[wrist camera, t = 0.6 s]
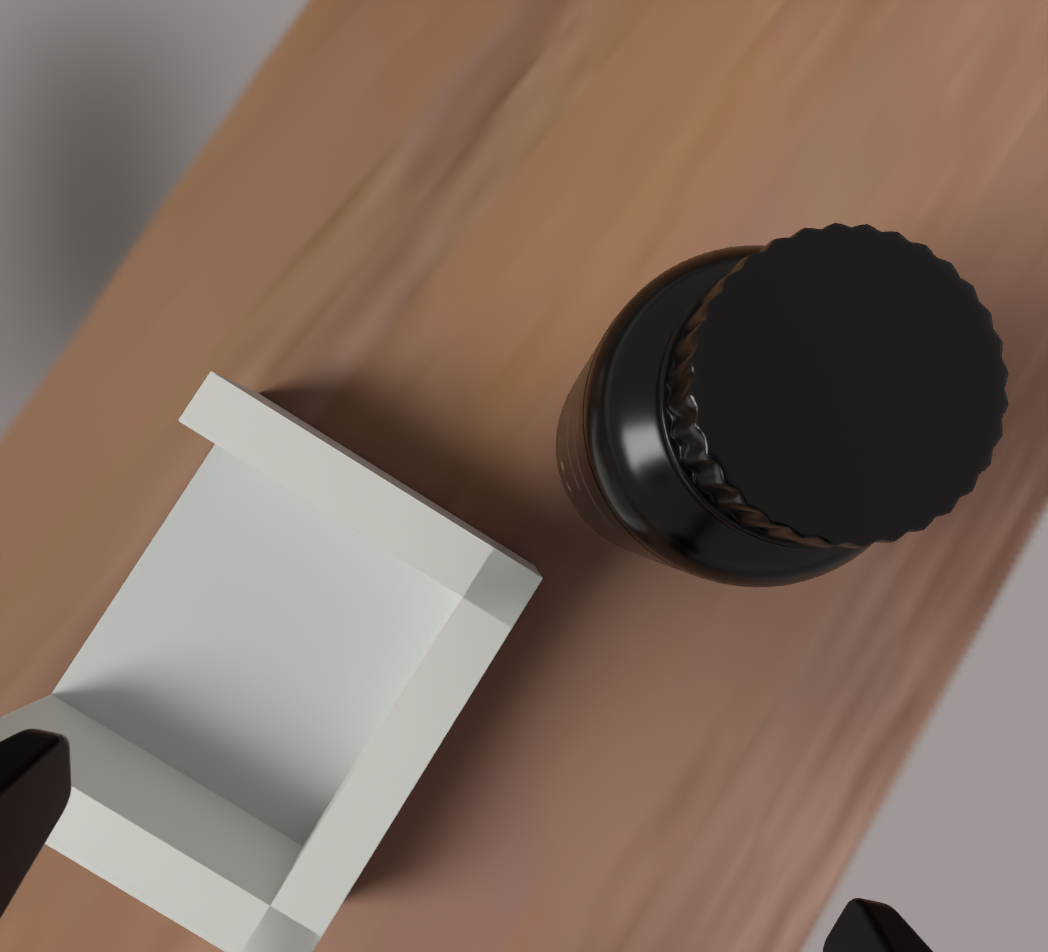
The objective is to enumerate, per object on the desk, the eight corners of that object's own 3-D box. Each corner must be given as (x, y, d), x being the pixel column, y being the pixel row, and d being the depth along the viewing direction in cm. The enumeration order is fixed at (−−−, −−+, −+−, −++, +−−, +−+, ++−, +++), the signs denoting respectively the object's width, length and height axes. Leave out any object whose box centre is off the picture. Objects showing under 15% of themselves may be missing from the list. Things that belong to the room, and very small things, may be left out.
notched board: (534, 565, 22) (542, 578, 18) (323, 905, 21) (288, 989, 17) (257, 392, 21) (210, 371, 18) (35, 731, 21) (-60, 781, 17)
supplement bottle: (739, 319, 22) (1030, 111, 10) (787, 529, 22) (1139, 566, 10) (529, 363, 22) (576, 200, 10) (576, 577, 22) (682, 674, 10)
